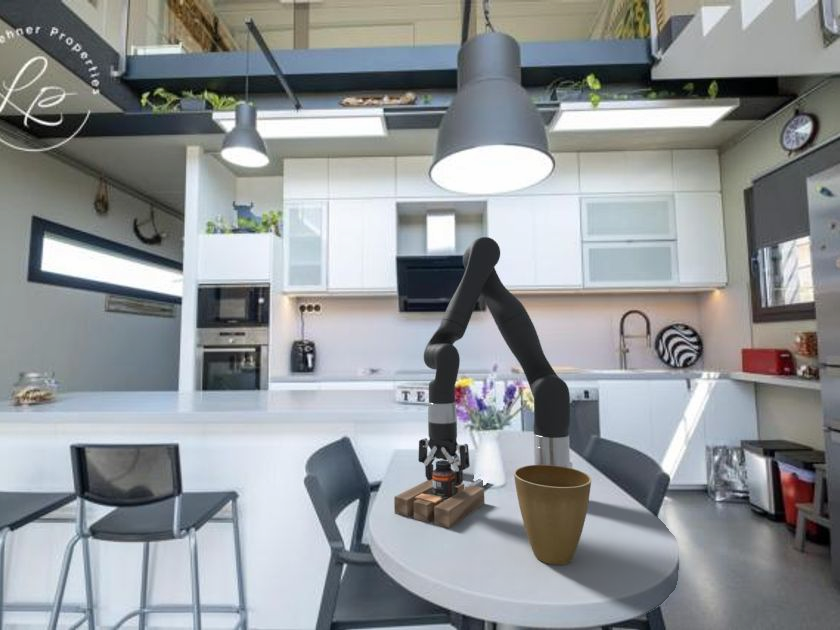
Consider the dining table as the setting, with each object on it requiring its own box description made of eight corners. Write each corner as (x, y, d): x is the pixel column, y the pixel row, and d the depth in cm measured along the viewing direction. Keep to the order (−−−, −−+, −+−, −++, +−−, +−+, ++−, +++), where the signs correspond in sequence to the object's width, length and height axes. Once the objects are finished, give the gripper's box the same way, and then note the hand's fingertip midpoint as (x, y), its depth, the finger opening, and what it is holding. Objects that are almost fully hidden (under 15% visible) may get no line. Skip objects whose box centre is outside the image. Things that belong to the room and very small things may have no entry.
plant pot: (580, 585, 76) (577, 492, 77) (503, 560, 85) (501, 477, 86) (603, 551, 88) (600, 471, 88) (533, 532, 97) (531, 459, 97)
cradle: (489, 483, 130) (489, 476, 130) (469, 495, 120) (469, 488, 120) (454, 476, 136) (454, 469, 137) (433, 487, 127) (433, 480, 127)
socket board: (484, 503, 114) (484, 486, 114) (448, 528, 99) (448, 509, 99) (433, 491, 123) (433, 476, 123) (394, 512, 108) (394, 495, 109)
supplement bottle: (454, 501, 115) (453, 458, 116) (457, 510, 109) (456, 465, 110) (432, 502, 115) (431, 459, 116) (433, 511, 109) (432, 465, 110)
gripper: (473, 419, 112) (474, 483, 111) (427, 414, 120) (429, 474, 120) (458, 424, 106) (460, 491, 105) (412, 419, 114) (413, 481, 113)
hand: (443, 482), depth 112 cm, fingers open, 8 cm apart
